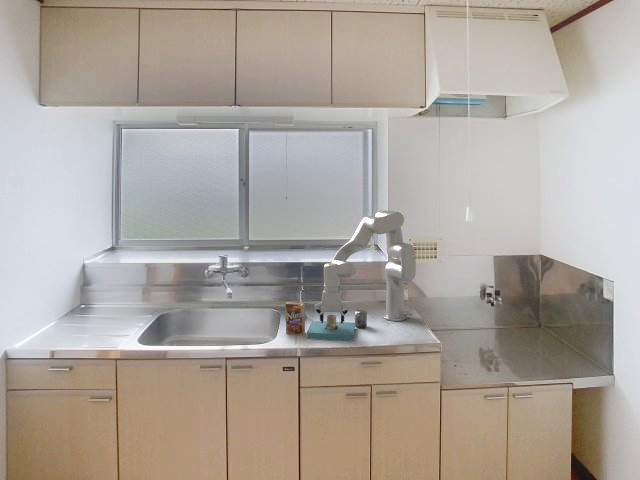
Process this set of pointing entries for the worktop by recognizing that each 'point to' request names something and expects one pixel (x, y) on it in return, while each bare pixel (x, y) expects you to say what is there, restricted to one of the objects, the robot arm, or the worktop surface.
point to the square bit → (331, 322)
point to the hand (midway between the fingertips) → (332, 322)
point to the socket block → (331, 331)
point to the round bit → (360, 319)
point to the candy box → (295, 318)
